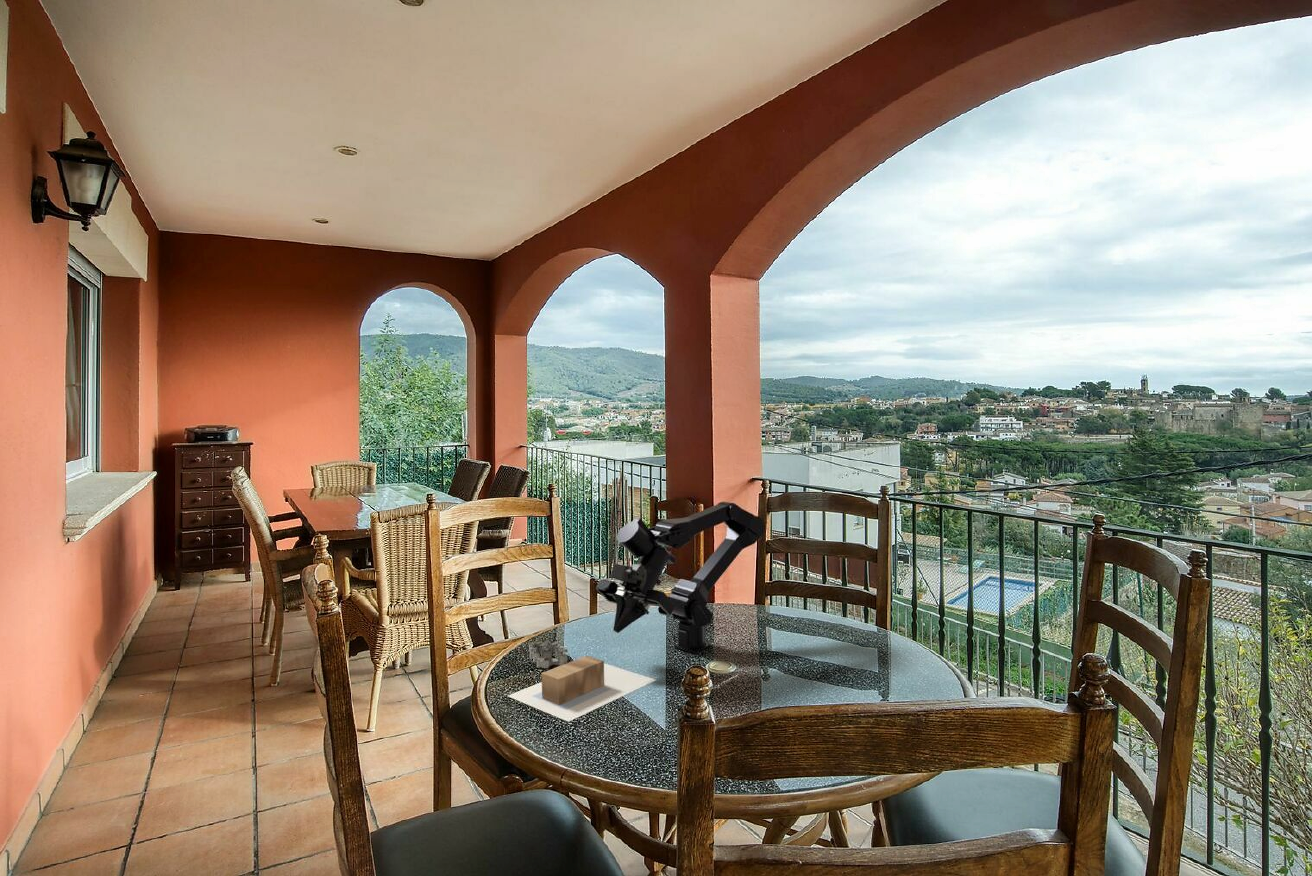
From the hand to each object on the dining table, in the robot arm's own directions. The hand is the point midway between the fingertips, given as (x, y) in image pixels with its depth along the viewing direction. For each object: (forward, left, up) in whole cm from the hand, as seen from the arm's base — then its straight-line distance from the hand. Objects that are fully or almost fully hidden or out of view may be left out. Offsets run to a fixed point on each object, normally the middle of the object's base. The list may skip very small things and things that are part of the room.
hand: (615, 631), depth 145 cm
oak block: (+6, 0, -6) cm, 9 cm away
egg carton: (+4, -18, -10) cm, 21 cm away
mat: (+10, 0, -9) cm, 13 cm away
